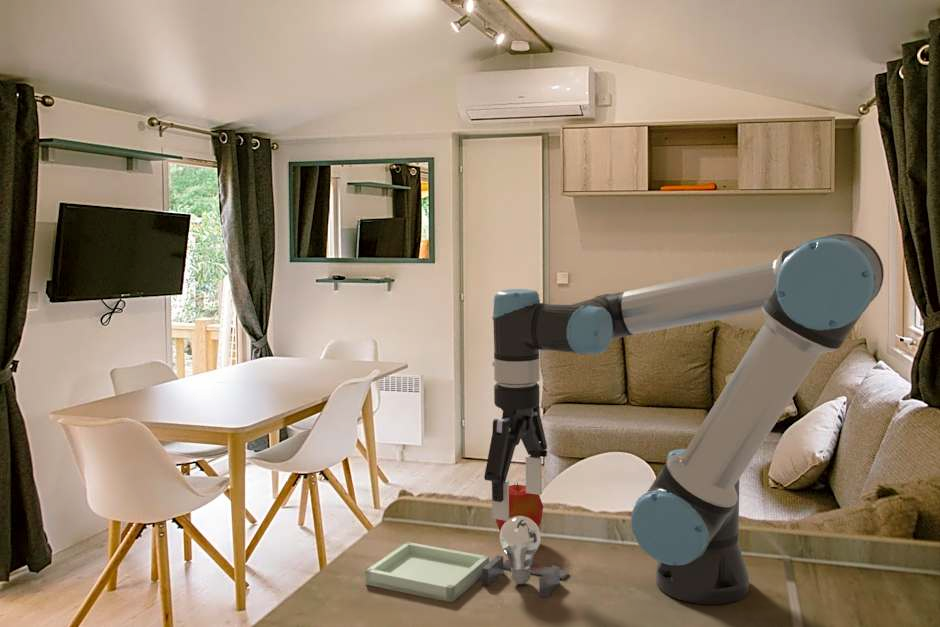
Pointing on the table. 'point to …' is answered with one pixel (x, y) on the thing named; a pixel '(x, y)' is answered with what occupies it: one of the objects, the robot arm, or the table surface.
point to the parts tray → (427, 571)
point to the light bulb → (520, 546)
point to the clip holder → (547, 580)
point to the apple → (523, 505)
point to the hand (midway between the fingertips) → (517, 505)
